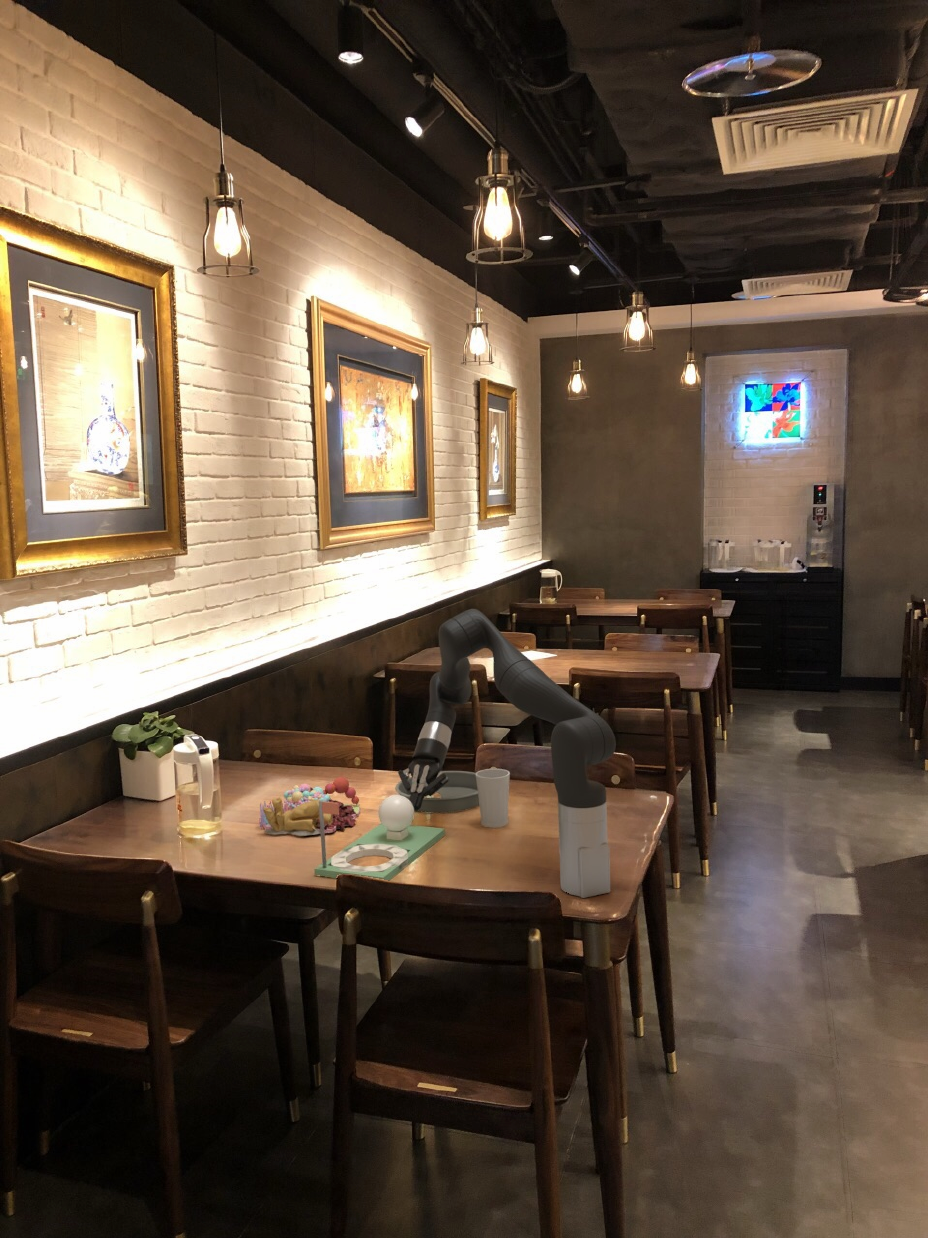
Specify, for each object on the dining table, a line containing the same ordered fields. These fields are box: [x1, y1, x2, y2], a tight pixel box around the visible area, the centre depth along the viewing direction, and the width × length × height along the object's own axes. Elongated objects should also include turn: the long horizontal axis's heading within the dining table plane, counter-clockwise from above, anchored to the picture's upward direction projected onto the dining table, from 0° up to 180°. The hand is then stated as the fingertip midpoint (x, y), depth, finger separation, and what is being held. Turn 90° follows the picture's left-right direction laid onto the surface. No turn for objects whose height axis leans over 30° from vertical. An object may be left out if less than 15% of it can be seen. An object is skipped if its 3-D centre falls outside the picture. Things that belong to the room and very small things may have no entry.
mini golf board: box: [313, 801, 446, 881], centre depth 204 cm, size 30×16×16 cm, turn 157°
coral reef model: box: [259, 776, 361, 837], centre depth 230 cm, size 25×24×9 cm
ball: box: [377, 794, 415, 831], centre depth 211 cm, size 8×8×8 cm
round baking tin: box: [394, 770, 480, 814], centre depth 242 cm, size 25×25×4 cm
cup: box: [475, 768, 511, 829], centre depth 222 cm, size 8×8×12 cm
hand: (412, 809), depth 218 cm, fingers closed
